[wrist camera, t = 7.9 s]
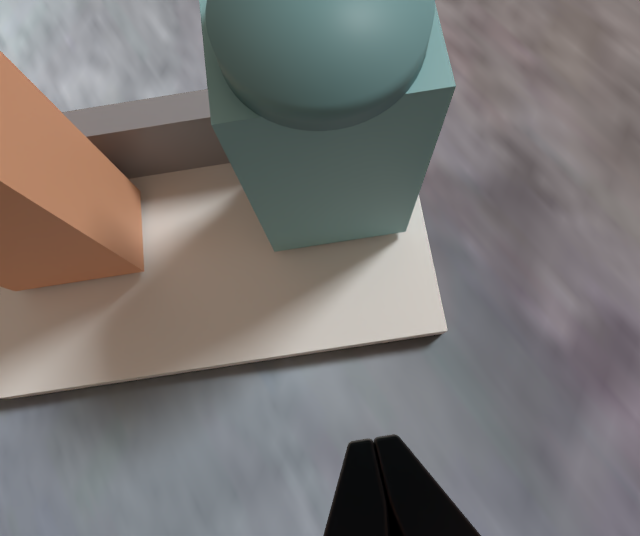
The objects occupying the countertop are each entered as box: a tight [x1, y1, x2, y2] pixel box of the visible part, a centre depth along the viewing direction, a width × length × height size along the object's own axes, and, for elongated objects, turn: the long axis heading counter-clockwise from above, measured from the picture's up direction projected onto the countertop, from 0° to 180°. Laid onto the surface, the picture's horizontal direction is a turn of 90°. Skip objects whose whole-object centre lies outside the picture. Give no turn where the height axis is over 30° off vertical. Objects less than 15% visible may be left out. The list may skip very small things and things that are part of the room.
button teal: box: [199, 0, 456, 252], centre depth 13 cm, size 4×4×9 cm
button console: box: [0, 89, 448, 399], centre depth 16 cm, size 8×15×4 cm, turn 98°
